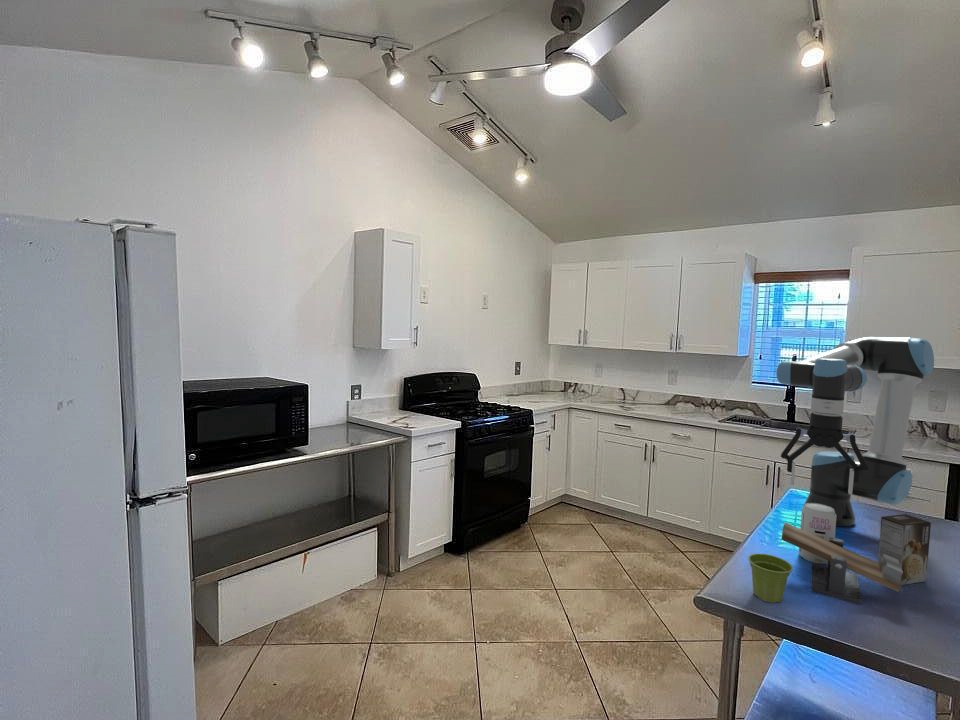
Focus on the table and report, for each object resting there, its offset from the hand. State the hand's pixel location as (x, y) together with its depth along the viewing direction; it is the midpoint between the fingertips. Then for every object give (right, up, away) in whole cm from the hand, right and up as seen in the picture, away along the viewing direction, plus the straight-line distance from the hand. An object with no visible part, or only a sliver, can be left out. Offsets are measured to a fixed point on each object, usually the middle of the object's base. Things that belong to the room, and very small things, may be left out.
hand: (820, 488), depth 144 cm
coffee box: (+16, -22, -9) cm, 28 cm away
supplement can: (0, -21, +2) cm, 21 cm away
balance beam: (-5, -13, -14) cm, 20 cm away
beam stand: (-5, -21, -13) cm, 26 cm away
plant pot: (-26, -22, -20) cm, 39 cm away
